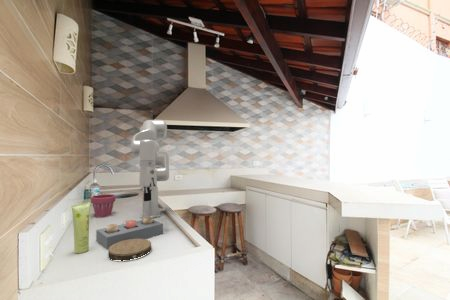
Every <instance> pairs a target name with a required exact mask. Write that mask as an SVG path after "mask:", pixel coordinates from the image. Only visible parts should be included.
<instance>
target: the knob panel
mask: <svg viewBox="0 0 450 300" xmlns="http://www.w3.org/2000/svg"><path fill="white" fill-rule="evenodd" d="M135 221H136V227H135V228H131V229H126V223H121V224H117V225H118V232H114V233H110V234H107V227H105V228H104V227H103V228H100V229H96V231H95V232H96V233H95V234H96V235H95V237H96V239H95V241H96V242H97V243H98V244H99V245H101V246H102V247H103V248H104V249H106V250H108V249H109V247H110V246H112V245H113V244H115V243H117V242H120V241H124V240H129V239H146V238H147V239H150V238H153V236H154V237H156V236H160V234H161V235H163V234H164V224H163V223H162V222H160V221H157V220H154V219H152V224H148V225H144V224H143V219H141V220H140V219H139V220H135ZM149 237H150V238H149ZM147 239H146V240H147Z"/></svg>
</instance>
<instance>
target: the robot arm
mask: <svg viewBox="0 0 450 300" xmlns="http://www.w3.org/2000/svg"><path fill="white" fill-rule="evenodd" d="M167 132H168V125H167V123H166V122H165V120H163V119H147V120H145V121H144V122H143V123H142V126H141V127H140V128H139V132H137V133H135V135H133V137H132V138H131V144H130V151H131V153H132V154H133V155H139V158H138V159H139V160H138V161H139V166H138V167H139V181H138V182H139V185H140V187H141V188H142V213H141V214H140V215H139V217H140V218H141V219H143V218H144V217H152V219H155V218H159V217H161V212H166V208H165V207H162V208H161V207H159V188H158V182H166V181H169V178H170V161H169V160H170V157H169V153H167V152H166V151H161V150H160V144H159V143H158V141H156V140H155V139H164V138H166V137H167Z"/></svg>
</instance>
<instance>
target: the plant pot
mask: <svg viewBox="0 0 450 300" xmlns="http://www.w3.org/2000/svg"><path fill="white" fill-rule="evenodd" d="M115 202H116V195H115V194H113V193H112V194H111V193H108V194H106V193H105V194H104V193H103V194H97V195H92V196H91V198H90V204H92V208H93V212H94V215H95V217H96V218H107V217H109V216H110V217H111V215H112V212H113V207H114V203H115Z"/></svg>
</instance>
